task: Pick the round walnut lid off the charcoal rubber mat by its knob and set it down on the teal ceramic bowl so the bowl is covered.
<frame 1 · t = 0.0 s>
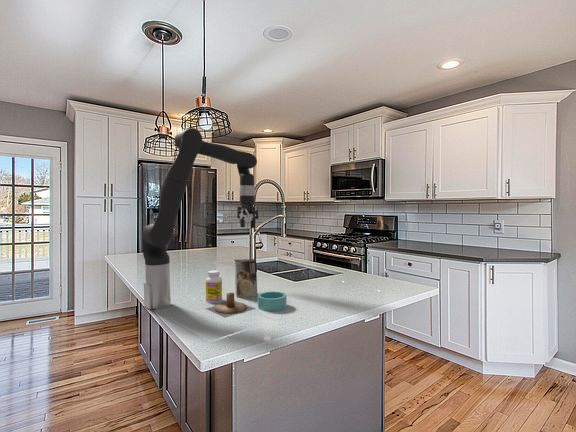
hand: (247, 227, 162), 29 cm above the countertop, fingers open, 8 cm apart
lid: (230, 308, 126), resting on mat
supplement bottle: (214, 302, 137), on the countertop
coffee box: (246, 296, 146), on the countertop
bowl: (272, 307, 128), on the countertop
mat: (230, 309, 126), on the countertop
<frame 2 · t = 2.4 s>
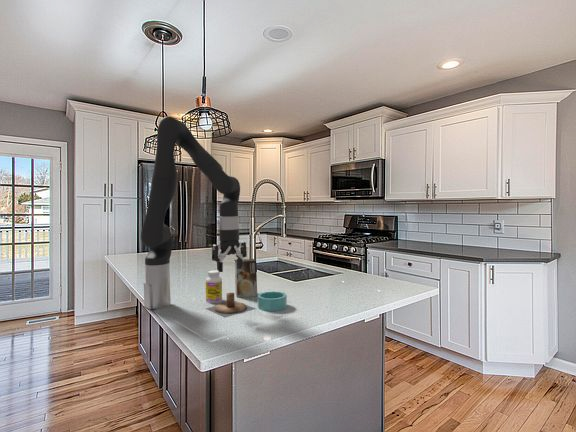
hand: (230, 270, 126), 15 cm above the countertop, fingers open, 8 cm apart
nothing on the countertop moved.
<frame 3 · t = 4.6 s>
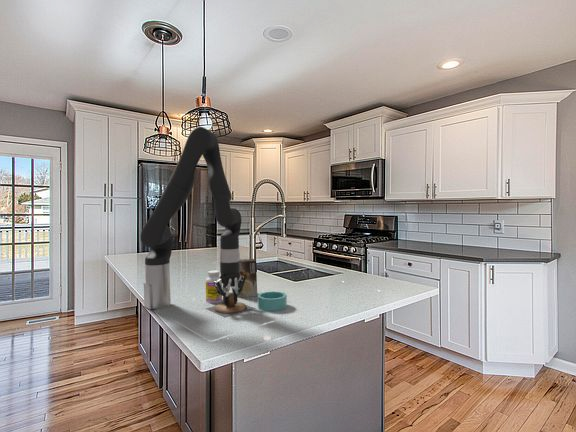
hand: (230, 304, 126), 2 cm above the countertop, fingers closed on lid, 3 cm apart
lid: (230, 308, 126), point 1 cm above the countertop, touching gripper, mat
everything else where it was.
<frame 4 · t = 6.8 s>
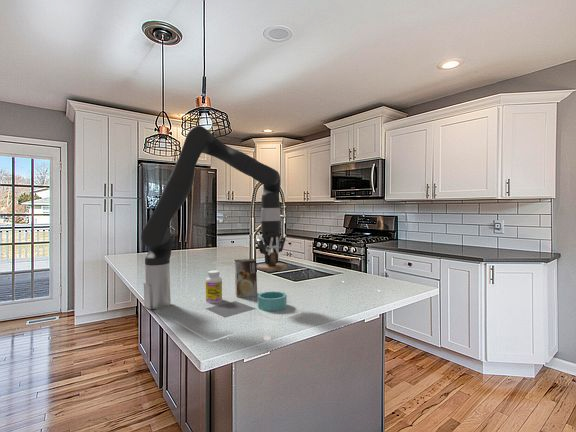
hand: (271, 263, 128), 17 cm above the countertop, fingers closed on lid, 3 cm apart
lid: (271, 267, 128), point 16 cm above the countertop, touching gripper
everything else where it was.
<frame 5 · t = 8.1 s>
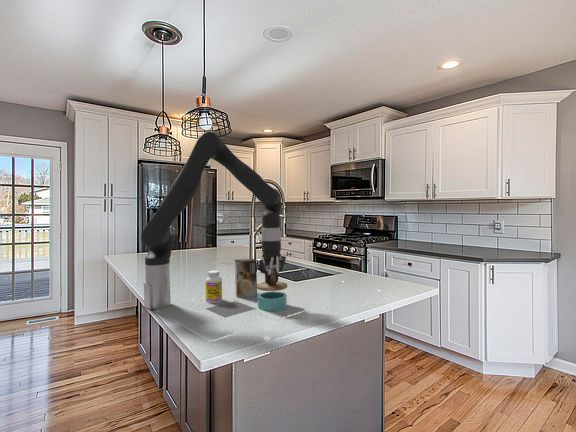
hand: (271, 282, 128), 10 cm above the countertop, fingers closed on lid, 3 cm apart
lid: (272, 286, 128), point 8 cm above the countertop, touching gripper
everything else where it was.
when the fingers open (8 cm above the countertop, at t = 9.2 s): lid drops 1 cm, resting on bowl.
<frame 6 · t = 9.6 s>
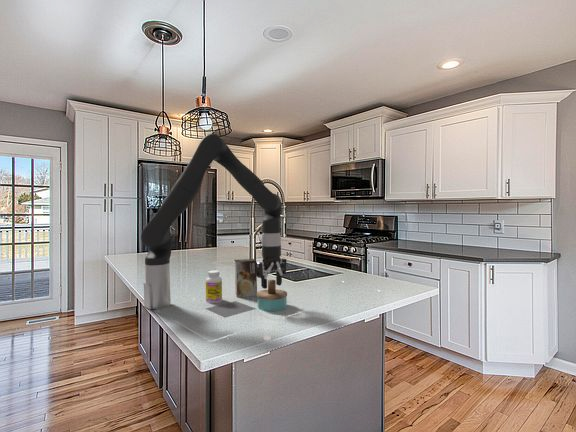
hand: (271, 286, 128), 8 cm above the countertop, fingers open, 6 cm apart
lid: (271, 295, 128), point 5 cm above the countertop, touching bowl
everything else where it was.
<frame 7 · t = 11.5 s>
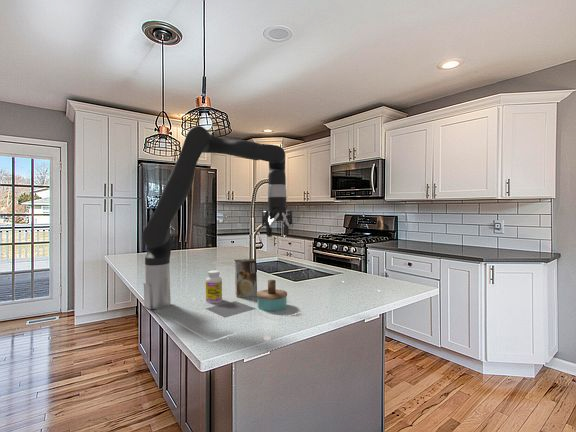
hand: (277, 235, 134), 28 cm above the countertop, fingers open, 8 cm apart
nothing on the countertop moved.
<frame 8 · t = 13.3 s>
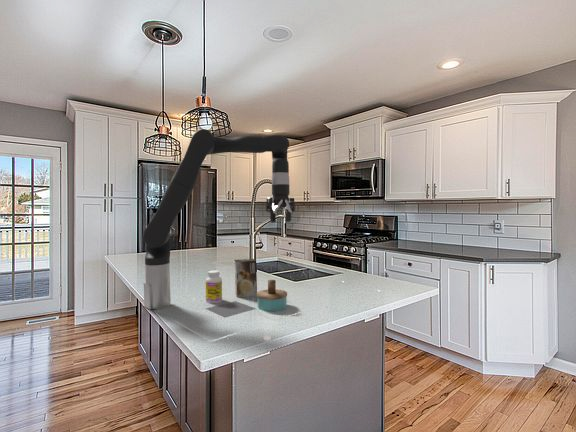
hand: (281, 222, 139), 33 cm above the countertop, fingers open, 8 cm apart
nothing on the countertop moved.
at the end: lid 0.1 cm off-centre on the bowl, point 5.0 cm above the bowl's base; lid tilted 0°; the gripper is holding nothing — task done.
